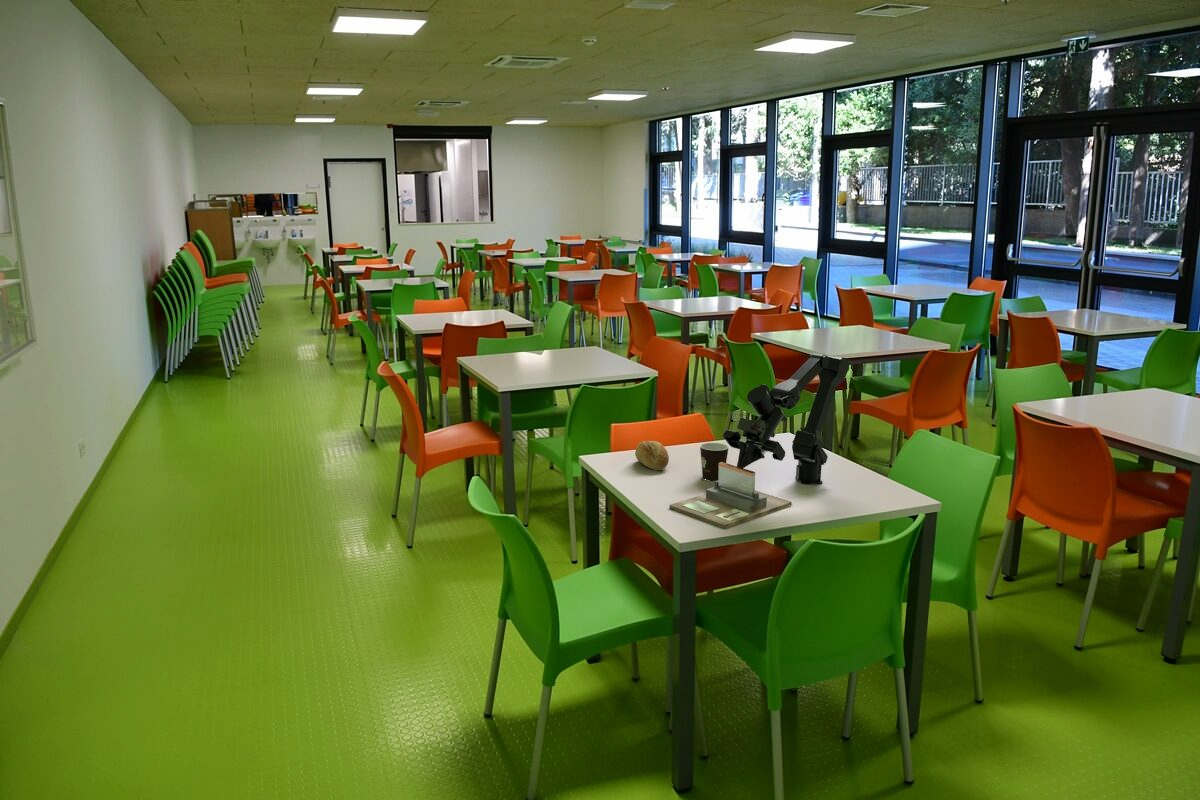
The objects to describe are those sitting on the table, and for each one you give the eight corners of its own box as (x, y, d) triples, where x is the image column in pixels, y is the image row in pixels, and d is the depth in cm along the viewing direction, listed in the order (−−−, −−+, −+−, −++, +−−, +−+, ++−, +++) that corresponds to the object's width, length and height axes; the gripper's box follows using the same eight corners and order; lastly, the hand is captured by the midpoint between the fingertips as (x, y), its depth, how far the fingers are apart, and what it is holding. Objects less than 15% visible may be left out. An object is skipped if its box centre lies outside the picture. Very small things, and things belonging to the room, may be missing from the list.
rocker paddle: (720, 485, 245) (720, 461, 244) (756, 497, 236) (756, 472, 234) (717, 487, 245) (717, 462, 243) (752, 498, 235) (753, 473, 233)
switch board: (736, 487, 256) (737, 470, 255) (791, 505, 241) (792, 487, 240) (669, 508, 238) (669, 490, 237) (724, 528, 224) (725, 509, 222)
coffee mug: (728, 482, 260) (729, 450, 258) (699, 482, 261) (700, 450, 259) (725, 471, 272) (726, 440, 270) (697, 470, 272) (698, 439, 270)
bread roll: (646, 474, 268) (647, 449, 267) (628, 461, 282) (629, 437, 280) (675, 471, 272) (675, 446, 270) (655, 458, 285) (656, 434, 284)
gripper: (728, 401, 246) (700, 444, 241) (781, 413, 232) (752, 459, 227) (745, 424, 253) (717, 467, 248) (797, 437, 239) (769, 483, 234)
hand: (738, 468), depth 239 cm, fingers closed, pressing on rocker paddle
